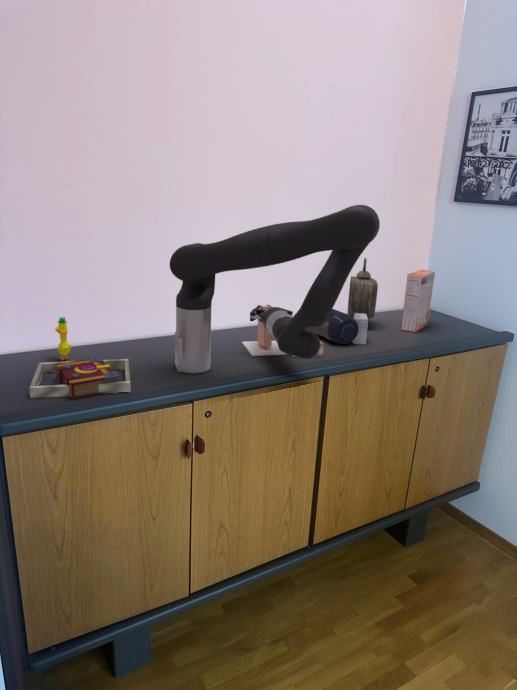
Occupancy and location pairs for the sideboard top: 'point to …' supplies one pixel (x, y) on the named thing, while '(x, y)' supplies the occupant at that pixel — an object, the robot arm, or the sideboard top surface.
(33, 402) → the sideboard top surface
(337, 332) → the portable speaker
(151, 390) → the sideboard top surface
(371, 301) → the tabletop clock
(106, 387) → the display tray
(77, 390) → the decorative book
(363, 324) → the medicine box
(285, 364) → the sideboard top surface
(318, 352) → the plate holder
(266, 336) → the cover plate
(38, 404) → the sideboard top surface
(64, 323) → the toy figure
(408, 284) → the cracker box
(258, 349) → the mat
